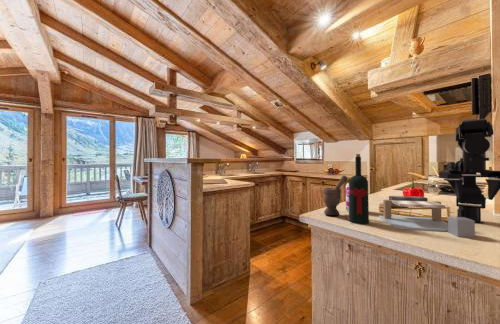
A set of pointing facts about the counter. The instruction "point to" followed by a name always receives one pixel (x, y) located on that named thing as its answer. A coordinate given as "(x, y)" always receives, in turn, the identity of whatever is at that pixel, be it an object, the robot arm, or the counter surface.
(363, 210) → the wine bottle
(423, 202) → the trapdoor
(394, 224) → the frame
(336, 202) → the mortar and pestle
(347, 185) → the supplement can
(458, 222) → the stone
